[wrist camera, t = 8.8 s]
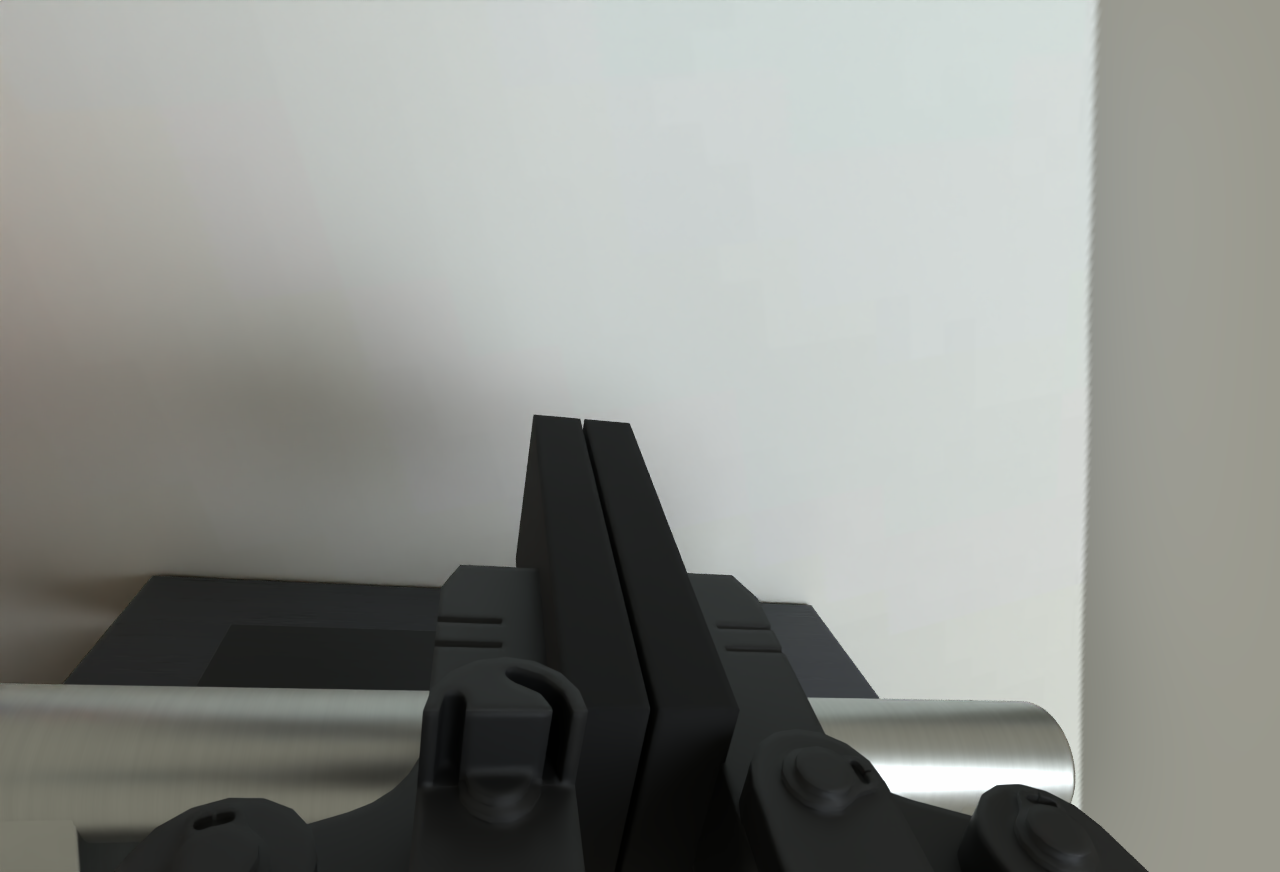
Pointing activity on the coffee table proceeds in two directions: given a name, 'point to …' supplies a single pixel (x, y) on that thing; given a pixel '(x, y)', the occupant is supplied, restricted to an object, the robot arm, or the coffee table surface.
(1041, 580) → the coffee table surface
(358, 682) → the oven door
